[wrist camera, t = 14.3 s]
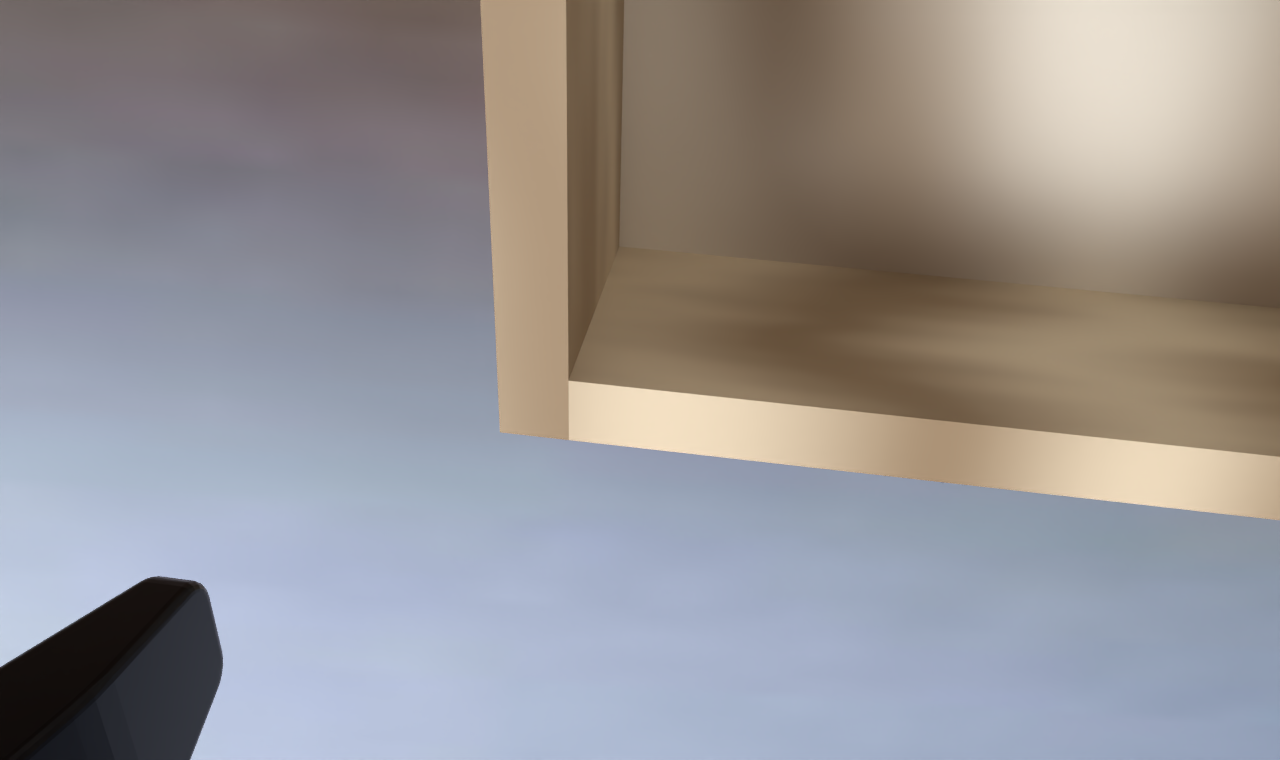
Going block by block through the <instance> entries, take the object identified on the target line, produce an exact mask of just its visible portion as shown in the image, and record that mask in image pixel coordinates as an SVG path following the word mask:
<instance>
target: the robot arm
mask: <svg viewBox="0 0 1280 760" xmlns="http://www.w3.org/2000/svg"><path fill="white" fill-rule="evenodd" d="M222 669H223V655H222V649H221V645H220V641H219V637H218V632H217V628H216V624H215V619H214V615H213V611H212V607H211V602H210V598H209V595H208V592H207V590H206V589H205V587H204V586H203V585H202V584H201V583H198V582H196V581H191V580H183V579H176V578H168V577H160V576H157V577H150V578H147V579H145V580H143V581H141V582H139V583H138V584H136V585H134V586H133V587H131V588H129V589H128V590H126V591H124V592H123V593H121V594H119V595H118V596H116V597H115V598H113V599H111V600H110V601H108V602H106V603H105V604H103V605H101V606H100V607H98V608H96V609H95V610H93V611H92V612H90V613H88V614H87V615H85V616H83V617H82V618H80V619H78V620H77V621H75V622H74V623H72V624H70V625H69V626H67V627H65V628H64V629H62V630H60V631H59V632H57V633H55V634H54V635H52V636H51V637H49V638H47V639H46V640H44V641H42V642H41V643H39V644H37V645H36V646H34V647H32V648H31V649H29V650H28V651H26V652H24V653H23V654H21V655H19V656H18V657H16V658H14V659H13V660H11V661H10V662H8V663H6V664H5V665H3V666H1V667H0V760H190V759H191V756H192V754H193V751H194V749H195V746H196V743H197V741H198V738H199V736H200V733H201V731H202V728H203V725H204V723H205V720H206V718H207V715H208V713H209V710H210V707H211V705H212V702H213V700H214V697H215V695H216V692H217V689H218V687H219V684H220V680H221V676H222Z"/></svg>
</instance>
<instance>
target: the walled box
mask: <svg viewBox="0 0 1280 760" xmlns="http://www.w3.org/2000/svg"><path fill="white" fill-rule="evenodd" d="M480 2H481V24H482V46H483V68H484V90H485V112H486V134H487V156H488V178H489V200H490V222H491V244H492V266H493V288H494V309H495V331H496V353H497V375H498V397H499V419H500V432H503V433H512V434H520V435H529V436H538V437H547V438H556V439H565V440H574V441H582V442H591V443H600V444H609V445H618V446H627V447H636V448H645V449H653V450H662V451H671V452H680V453H689V454H698V455H707V456H715V457H724V458H733V459H742V460H751V461H760V462H769V463H778V464H786V465H795V466H804V467H813V468H822V469H831V470H840V471H848V472H857V473H866V474H875V475H884V476H893V477H902V478H911V479H919V480H928V481H937V482H946V483H955V484H964V485H973V486H981V487H990V488H999V489H1008V490H1017V491H1026V492H1035V493H1043V494H1052V495H1061V496H1070V497H1079V498H1088V499H1097V500H1106V501H1114V502H1123V503H1132V504H1141V505H1150V506H1159V507H1168V508H1176V509H1185V510H1194V511H1203V512H1212V513H1221V514H1230V515H1239V516H1247V517H1256V518H1265V519H1274V520H1280V0H480Z"/></svg>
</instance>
